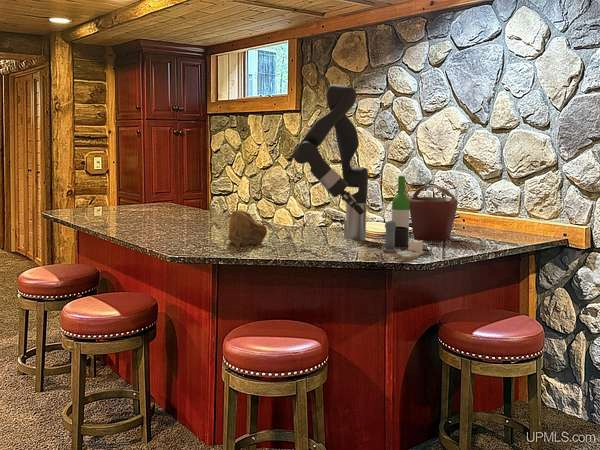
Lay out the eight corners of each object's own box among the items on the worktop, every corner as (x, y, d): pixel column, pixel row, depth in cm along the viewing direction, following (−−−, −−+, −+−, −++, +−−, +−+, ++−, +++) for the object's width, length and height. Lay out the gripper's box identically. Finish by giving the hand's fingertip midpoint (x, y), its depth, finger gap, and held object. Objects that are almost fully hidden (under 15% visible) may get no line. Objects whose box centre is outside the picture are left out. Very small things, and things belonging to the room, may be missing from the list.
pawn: (380, 252, 260) (381, 220, 258) (386, 250, 264) (387, 219, 262) (392, 253, 257) (393, 221, 255) (398, 251, 261) (399, 220, 260)
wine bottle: (394, 245, 286) (396, 176, 282) (388, 242, 294) (390, 175, 290) (411, 245, 288) (413, 176, 284) (404, 242, 295) (407, 175, 291)
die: (408, 253, 266) (408, 241, 265) (410, 251, 271) (410, 239, 270) (420, 254, 264) (421, 241, 264) (422, 252, 269) (422, 240, 269)
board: (346, 253, 265) (346, 249, 265) (358, 249, 274) (358, 246, 274) (408, 260, 251) (408, 256, 250) (419, 256, 260) (419, 252, 260)
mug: (408, 246, 283) (408, 226, 282) (407, 251, 272) (408, 229, 271) (386, 245, 285) (386, 225, 284) (384, 250, 274) (385, 228, 272)
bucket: (464, 241, 299) (466, 187, 296) (421, 243, 292) (423, 187, 289) (437, 234, 322) (439, 183, 319) (396, 235, 315) (398, 183, 312)
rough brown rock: (263, 250, 274) (266, 215, 273) (224, 246, 275) (227, 211, 273) (267, 243, 297) (270, 211, 296) (231, 240, 298) (234, 207, 296)
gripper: (340, 177, 250) (369, 207, 252) (339, 175, 265) (367, 204, 266) (326, 190, 251) (355, 221, 252) (326, 188, 265) (354, 216, 267)
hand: (361, 212), depth 259 cm, fingers open, 8 cm apart
